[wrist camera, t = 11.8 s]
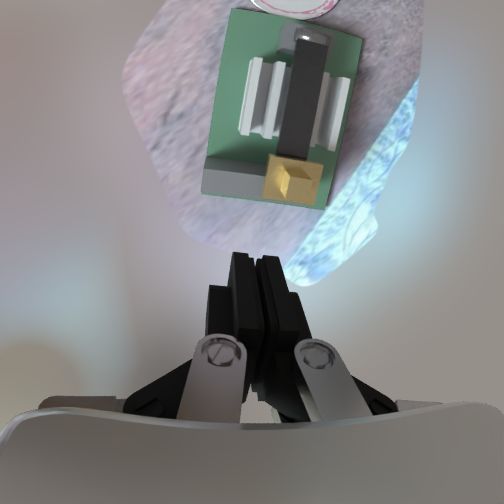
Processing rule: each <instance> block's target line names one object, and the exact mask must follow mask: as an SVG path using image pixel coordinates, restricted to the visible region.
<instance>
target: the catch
mask: <svg viewBox="0 0 504 504" xmlns="http://www.w3.org/2000/svg"><path fill="white" fill-rule="evenodd" d="M323 166H324V165H323V164H321V163H319V162H314V161H309V160H303V159H298V158H292V157H286V156H280V155H274V154H269V155H268V161H267V166H266V171H265V176H264V182H263V187H262V192H261V196H262V198H266V199H273V200H281V201H288V202H294V203H301V204H308V205H314V203H315V199H316V195H317V191H318V187H319V183H320V179H321V175H322V170H323Z"/></svg>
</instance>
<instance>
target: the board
mask: <svg viewBox="0 0 504 504" xmlns="http://www.w3.org/2000/svg"><path fill="white" fill-rule="evenodd" d="M297 27H300V28H304V29H308V30H312V31H316V32H320V33H323V34H327V35H330V36H331V44H330V46H329V48H328V52H327V58H326V63H325V69H324V74H323V80H322V85H321V91H320V96H319V101H318V106H317V112H316V117H315V122H314V127H313V132H312V137H311V142H310V147H309V152H308V156H307V160H309V161H314V162H319V163H321V164H323V165H324V166H323V170H322V175H321V179H320V183H319V187H318V191H317V195H316V199H315V203H314V205H308V204H301V203H294V202H288V201H281V200H273V199H266V198H262V196H261V192H262V187H263V182H264V176H265V171H266V166H267V161H268V155H269V154H274V155H275V152H276V147H277V141H278V136H279V130H280V125H281V120H282V114H283V109H284V103H285V98H286V92H287V87H288V81H289V76H290V70H291V65H292V59H293V54H294V48H295V43H296V42H294V34H295V31H296V28H297ZM361 44H362V39H361V38H358V37H355V36H352V35H349V34H346V33H343V32H340V31H336V30H333V29H330V28H326V27H323V26H319V25H315V24H312V23H308V22H304V21H300V20H295V19H291V18H286V17H282V16H277V15H272V14H266V13H261V12H255V11H249V10H242V9H235V8H231V13H230V18H229V22H228V27H227V33H226V38H225V43H224V48H223V54H222V59H221V65H220V71H219V77H218V82H217V88H216V95H215V101H214V107H213V114H212V120H211V127H210V134H209V141H208V149H207V156H206V160H205V165H204V169H203V177H202V186H201V192H202V194H204V195H213V196H222V197H231V198H239V199H247V200H255V201H262V202H270V203H277V204H284V205H291V206H298V207H305V208H312V209H318V210H325V206H326V202H327V198H328V195H329V191H330V187H331V183H332V179H333V175H334V171H335V167H336V163H337V158H338V154H339V150H340V146H341V141H342V137H343V133H344V128H345V124H346V119H347V115H348V110H349V105H350V101H351V96H352V91H353V86H354V81H355V76H356V71H357V66H358V60H359V55H360V49H361Z"/></svg>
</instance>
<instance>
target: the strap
mask: <svg viewBox="0 0 504 504" xmlns="http://www.w3.org/2000/svg"><path fill="white" fill-rule="evenodd" d="M294 42H296V43H295V48H294V54H293V59H292V65H291V70H290V76H289V81H288V87H287V92H286V98H285V103H284V109H283V114H282V120H281V125H280V130H279V136H278V141H277V147H276V152H275V155H280V156H286V157H292V158H298V159H303V160H307V156H308V152H309V147H310V142H311V137H312V132H313V127H314V122H315V117H316V112H317V106H318V101H319V96H320V91H321V85H322V80H323V74H324V69H325V63H326V58H327V52H328V48H329V46H330V44H331V36H330V35H327V34H323V33H320V32H316V31H312V30H308V29H304V28H300V27H297V28H296V31H295V34H294Z"/></svg>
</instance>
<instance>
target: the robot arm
mask: <svg viewBox="0 0 504 504" xmlns="http://www.w3.org/2000/svg"><path fill="white" fill-rule="evenodd" d="M205 329H206V330H205V337H203V338H202V339H201V340H200V341H199V342H198V344H197V346H196V348H195V352H194V355H193V358H192V359H191V360H189V361H187V362H186V363H184V364H183V365H181V366H179V367H178V368H176V369H174V370H173V371H171V372H169V373H167V374H166V375H164V376H162V377H161V378H159V379H157V380H156V381H154V382H152V383H150V384H149V385H147V386H145V387H143V388H142V389H140V390H138V391H136V392H135V393H133V394H132V395H131V396H129V397H128V398H127V399H116V396H52V397H48V398H46V399H45V400H43V401H42V403H41V404H40V405H39V407H38V409H36V410H31V411H27V412H24V413H21V414H19V415H17V416H15V417H13V418H12V419H11V420H10V421H9V422H8V423H7V424H6V425H5V426H4V428H3V429H2V431H1V432H0V504H504V414H503V413H502V412H501V411H500V410H498V409H497V408H496V407H493V406H491V405H487V404H484V403H479V402H454V403H446V404H443V403H439V402H422V401H407V400H396V401H395V403H394V402H393V401H392V400H391V399H390V398H388V397H387V396H385V395H383V394H382V393H380V392H379V391H377V390H375V389H374V388H372V387H370V386H368V385H367V384H365V383H363V382H362V381H360V380H358V379H357V378H355V377H353V376H352V375H350V373H349V371H348V369H347V368H346V366H345V364H344V362H343V360H342V359H341V357H340V355H339V353H338V352H337V350H336V349H335V348H334V347H333V346H332V345H330V344H329V343H327V342H325V341H323V340H319V339H312V336H311V333H310V330H309V326H308V323H307V320H306V317H305V314H304V311H303V308H302V305H301V301H300V299H299V296H298V294H297V293H296V292H289V290H288V287H287V284H286V280H285V276H284V273H283V270H282V266H281V263H280V260H279V257H277V256H267V255H263V257H262V259H259V258H258V259H257V261H256V265H255V264H254V258H249V256H248V253H239V252H233V254H232V259H231V265H230V272H229V279H228V285H227V286H216V285H209V292H208V301H207V312H206V328H205ZM250 384H251V388H252V392H257V395H258V401H265V402H266V403H268V404H269V405H271V406H272V409H271V411H272V417H273V420H274V422H275V423H267V424H266V423H262V424H261V423H258V424H256V423H253V424H252V423H240V415H241V406H242V403H244V402H245V401H246V397H247V394H248V391H249V387H250Z"/></svg>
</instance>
